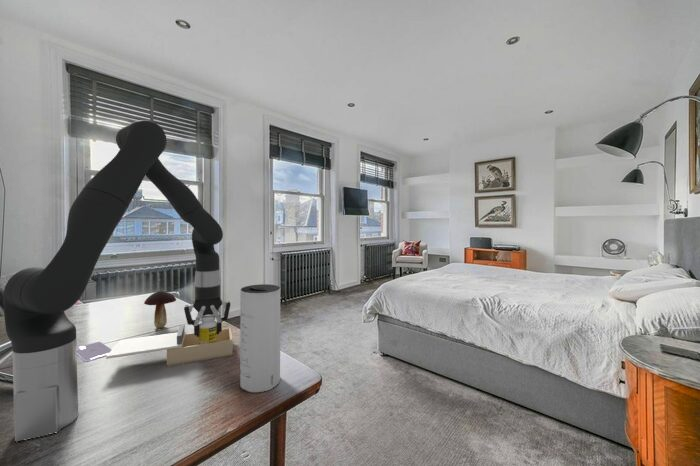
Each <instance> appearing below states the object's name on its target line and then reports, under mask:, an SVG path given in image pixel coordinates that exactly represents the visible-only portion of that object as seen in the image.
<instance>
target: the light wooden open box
mask: <svg viewBox="0 0 700 466" xmlns="http://www.w3.org/2000/svg"><path fill="white" fill-rule="evenodd" d="M233 354H234V353H233V335H232V328H231V327H226V328H222V331H221V332H219V334H217V342H213V343H206V344H200V345H199V337H197V336H196V335H194V332H190V333H186V334H185V338H184V341H183V345H182V347H181V348H174V349H168V350H166V367H167V368H168V367H169V368H170V367H174V366H179V365H180V366H181V365H185V364H191V363H198V362H203V361H208V360H209V361H210V360H215V359H221V358H227V357H232V356H233Z"/></svg>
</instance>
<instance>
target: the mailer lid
mask: <svg viewBox="0 0 700 466" xmlns="http://www.w3.org/2000/svg"><path fill="white" fill-rule="evenodd" d="M185 334H187V333H186V330H185V324H180V325H179V329H178V331H177V332H171V333H163V334H162V333H161V334H156V335H148V336H140V337H134V338H133V337H132V338H125V339H119V340H118V341H117V342H116V343H115V345H114V346H113V347H112V348H111V349H112V350H111V351H110V352H109V354H108V355H107V356H105V357H106V358H105V359H106V360H108V359H114V358H121V357H128V356H133V355H140V354H145V353H148V354H149V353H153V352H161V351H167V350H168V349H174V348H181V347H182V345H183V341H184V338H185Z"/></svg>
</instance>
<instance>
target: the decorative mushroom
mask: <svg viewBox="0 0 700 466" xmlns="http://www.w3.org/2000/svg"><path fill="white" fill-rule="evenodd" d="M176 301H177V298H176V297H175V295H173V294H172V293H170V292H167V291H163V290H159V291H155V292H154V293H152V294H150V295H149V296H148V297H147V298H146V299H145V300H144V303H143V305H146V306H155V308H154V309H155V310H154V317H153V320H154V321H153V325H154V327H155V328H156V329H163V328H165V327H166V326H167V323H168V320H167V316H168V315H167V311H166V310H167V309H166V306H165V304H170V303H174V302H176Z"/></svg>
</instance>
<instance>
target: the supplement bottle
mask: <svg viewBox="0 0 700 466" xmlns="http://www.w3.org/2000/svg"><path fill="white" fill-rule="evenodd" d="M215 319H216V318H215V316H214V314H213V315H205V316H203V315H202V317H201V319H200V322H199V323H198V324H199V345H200V344H206V343H213V342H217V322H218V321H217V320H215Z"/></svg>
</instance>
